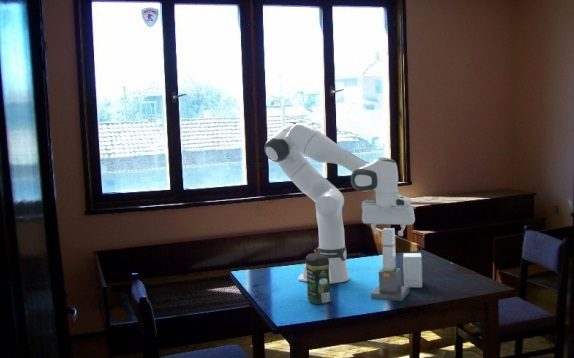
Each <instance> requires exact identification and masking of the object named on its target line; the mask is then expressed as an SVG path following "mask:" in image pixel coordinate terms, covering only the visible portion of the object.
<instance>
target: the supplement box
mask: <svg viewBox="0 0 574 358" xmlns="http://www.w3.org/2000/svg"><path fill="white" fill-rule="evenodd" d="M402 257H403V258H402V260H403V262H402V263H403V266H402V267H403V287H409V288H423V262H422V259H423V258H422V253H421V252H415V253H414V252H413V253H412V252H411V253H410V252H409V253H408V252H407V253H404V252H403V256H402Z"/></svg>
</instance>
